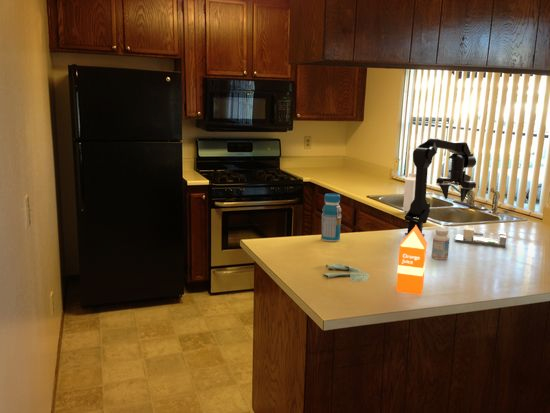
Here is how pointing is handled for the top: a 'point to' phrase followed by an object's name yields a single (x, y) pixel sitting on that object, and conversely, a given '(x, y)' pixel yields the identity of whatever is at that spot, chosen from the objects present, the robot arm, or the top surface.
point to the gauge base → (484, 240)
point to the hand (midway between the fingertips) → (453, 200)
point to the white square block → (470, 233)
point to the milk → (409, 191)
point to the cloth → (353, 276)
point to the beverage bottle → (331, 218)
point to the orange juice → (411, 263)
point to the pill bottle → (440, 244)
